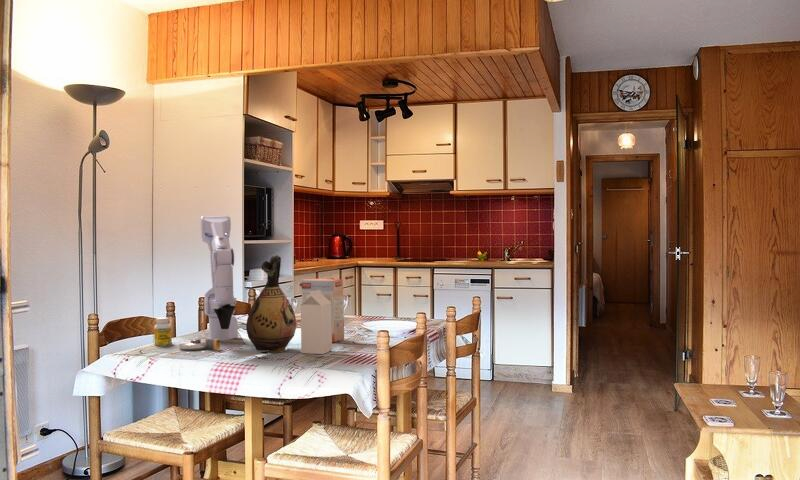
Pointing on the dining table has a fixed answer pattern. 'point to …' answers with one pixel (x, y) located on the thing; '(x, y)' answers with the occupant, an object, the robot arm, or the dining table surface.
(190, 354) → the board
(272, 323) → the ceramic jug
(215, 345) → the dial
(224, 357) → the dining table surface
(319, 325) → the milk carton
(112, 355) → the dining table surface
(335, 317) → the cracker box
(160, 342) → the supplement bottle
